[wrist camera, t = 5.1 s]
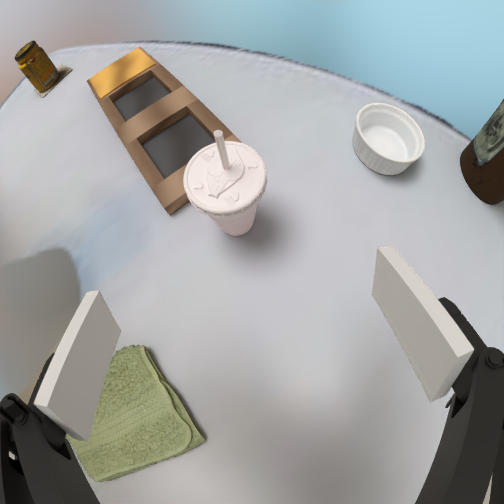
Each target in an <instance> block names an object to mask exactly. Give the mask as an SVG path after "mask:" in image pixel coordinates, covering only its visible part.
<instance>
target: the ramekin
mask: <svg viewBox="0 0 504 504" xmlns="http://www.w3.org/2000/svg"><path fill="white" fill-rule="evenodd" d="M353 147H354V150H355V152H356V154H357V156H358V157H359V159H360V160H361V161H362V162H363V163H364V164H365V165H366V166H367V167H369V168H370V169H372V170H373V171H375V172H377V173H380V174H384V175H396V174H399V173H401V172H403V171H404V170H405V169H406V168H407V167H409V166H410V165H411V164H412V163H413V162H414V161H416V160H417V159H419V158H420V157H421V156H422V154H423V152H424V149H425V139H424V136H423V133H422V131H421V129H420V127H419V126H418V124H417V123H416V122H415V121H414V120H413V119H412V118H411V117H410V116H409V115H408V114H407V113H405V112H404V111H402V110H401V109H399V108H397V107H395V106H392V105H389V104H384V103H372V104H368V105H366V106H364V107H362V108H361V109H360V110H359V112H358V114H357V117H356V127H355V131H354V135H353Z"/></svg>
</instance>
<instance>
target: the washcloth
mask: <svg viewBox="0 0 504 504" xmlns="http://www.w3.org/2000/svg"><path fill="white" fill-rule="evenodd" d="M66 437H67V438H68V439H69V441H70V443H71V444H72V446H73V447H74V448H75V450H76V452H77V454H78V459H79V460H80V462H81V464H82V465H83V466H84V468H85V470H86V471H87V473H88V474H89V476H90V477H92V479H93V480H94V481H99V482H103V481H110V480H112V479H113V478H117V477H118V478H119V477H121V476H123V475H125V474H126V473H129V472H130V473H131V472H133V471H135V470H139V469H141V468H144V467H147V466H148V465H151V464H156V463H157V462H158V461H163V460H167V459H170V458H172V457H176V456H178V455H180V454H183V453H185V452H186V451H187V450H189V449H193V448H194V447H196V446H197V445H200V444H201V443H203V442H204V441H205V438H204V437H203V436H202V435H201V434H200V433H199V432H198V430H197V429H196V427H195V426H194V424H193V422H192V421H191V419H190V417H189V415H188V414H187V412H186V410H185V408H184V407H183V405H182V403H181V401H180V400H179V398H178V396H177V395H176V394H175V392H174V391H173V390H172V389H171V387H170V386H169V385H168V384H167V382H166V381H165V379H164V377H163V376H162V374H161V373H160V371H159V370H158V368H157V366H156V365H155V363H154V362H153V360H152V358H151V356H150V354H149V351H148V349H147V347H145V346H141V347H139V345H137V346H136V347H135V346H134V345H131V346H129V347H123V349H121V350H119V351H116V354H115V355H114V356H113V357H112V359H111V362H110V365H109V369H108V372H107V375H106V378H105V382H104V385H103V388H102V392H101V395H100V399H99V402H98V406H97V410H96V413H95V417H94V421H93V425H92V429H91V433H90V438H89V442H86V441H81V440H76V439H74V438H72V437H71V436H70V435H69V434H67V433H66Z"/></svg>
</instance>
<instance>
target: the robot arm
mask: <svg viewBox="0 0 504 504" xmlns="http://www.w3.org/2000/svg"><path fill="white" fill-rule="evenodd" d="M372 296H373V297H374V299H375V301H376V302H377V304H378V306H379V307H380V309H381V311H382V312H383V314H384V316H385V318H386V319H387V321H388V323H389V325H390V326H391V328H392V330H393V332H394V333H395V335H396V337H397V339H398V341H399V342H400V344H401V346H402V348H403V350H404V352H405V353H406V355H407V357H408V359H409V361H410V363H411V365H412V367H413V369H414V370H415V372H416V374H417V376H418V378H419V380H420V382H421V384H422V386H423V388H424V390H425V392H426V394H427V397H428V399H429V401H430V402H432V401H434V400H436V399H439V398H441V397H443V396H445V395H446V394H447V393H448V391H449V390H450V388H451V387H452V388H453V390H454V392H455V393H454V394H453V396H452V397H451V399H450V400H449V401H448V403H447V405H446V407H445V408H448V407H449V405H450V404H451V405H450V409H449V413H448V417H447V421H446V424H445V428H444V431H443V434H442V437H441V441H440V444H439V447H438V450H437V452H436V455H435V458H434V461H433V463H432V466H431V469H430V471H429V474H428V476H427V478H426V481H425V483H424V485H423V488H422V490H421V492H420V494H419V496H418V499H417V501H416V503H415V504H483V501H484V498H485V495H486V492H487V489H488V486H489V482H490V479H491V476H492V485H491V494H490V501H489V504H504V354H503V353H502V352H501V351H500V350H499V349H496V348H494V347H487V346H486V345H485V344H484V342H483V341H482V339H481V338H480V337H479V335H478V334H477V332H476V331H475V330H474V328H473V327H472V326H471V324H470V323H469V322H468V321H467V319H466V318H465V317H464V315H463V314H461V311H460V310H459V309H458V308H457V306H456V305H455V304H454V303H453V302H451V301H450V300H448V299H447V298H445V297H443V298H440V299H437V298H436V297H435V295H434V294H433V293H432V292H431V290H430V289H429V288H428V287H427V285H426V284H425V283H424V282H423V281H422V279H421V278H420V277H419V276H418V275H417V273H416V272H415V271H414V270H413V269H412V268H411V266H410V265H409V264H408V263H407V262H406V261H405V259H404V258H403V257H402V256H401V255H400V254H399V253H398V252H397V250H396V249H395V248H394V247H393V246H392V245H389V246H383V247H378V248H377V257H376V266H375V275H374V283H373V290H372ZM120 333H121V330H120V328H119V326H118V325H117V323H116V321H115V319H114V318H113V316H112V314H111V312H110V310H109V308H108V306H107V304H106V303H105V301H104V299H103V297H102V295H101V293H100V291H99V290H98V291H91V292H87V293H86V295H85V297H84V298H83V300H82V302H81V304H80V306H79V307H78V309H77V311H76V313H75V315H74V317H73V318H72V320H71V322H70V324H69V326H68V328H67V330H66V332H65V334H64V336H63V338H62V340H61V342H60V344H59V346H58V348H57V350H56V352H55V353H53V354H52V355H51V356H50V357H49V359H48V360H47V361H46V363H45V365H44V367H43V370H42V371H43V372H41V374H40V376H39V379H38V381H37V383H36V386H35V388H34V390H33V393H32V395H31V398H30V400H29V403H28V405H26V404H25V403H24V402H23V401H22V400H21V399H20V398H19V397H18V396H17V395H16V394H13V393H10V394H8V395H6V396H5V397H4V398H3V399H2V401H1V402H0V504H100V502H99V501H98V499H97V497H96V495H95V494H94V492H93V490H92V488H91V487H90V485H89V483H88V481H87V479H86V477H85V475H84V473H83V471H82V469H81V467H80V465H79V463H78V461H77V459H76V457H75V454H74V452H73V450H72V448H71V445H70V443H69V441H68V440H67V439H66V438H65V437H66V433H67V434H69V435H70V436H71V437H72V438H74V439H76V440H81V441H86V442H89V438H90V433H91V429H92V425H93V421H94V417H95V413H96V410H97V406H98V402H99V399H100V395H101V392H102V388H103V385H104V382H105V378H106V375H107V372H108V369H109V365H110V362H111V359H112V356H113V353H114V350H115V347H116V344H117V341H118V338H119V336H120ZM9 451H10V452H11V453H12V454H14V455H15V460H13V459H12V458H10V457H9ZM492 472H493V474H492Z"/></svg>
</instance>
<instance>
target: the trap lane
mask: <svg viewBox="0 0 504 504" xmlns="http://www.w3.org/2000/svg"><path fill="white" fill-rule="evenodd" d="M87 82H88V84H89V86H90V88H91V89H92V91H93V93H94V95H95V97H96V98H97V100H98V102H99V104H100V105H101V107H102V109H103V111H104V112H105V114H106V116H107V117H108V119H109V121H110V122H111V124H112V126H113V128H114V129H115V131H116V133H117V134H118V136H119V138H120V139H121V141H122V143H123V144H124V146H125V147H126V149H127V151H128V152H129V154H130V156H131V157H132V159H133V160H134V162H135V164H136V165H137V167H138V168H139V170H140V172H141V173H142V175H143V176H144V178H145V179H146V181H147V183H148V184H149V186H150V187H151V189H152V190H153V192H154V193H155V195H156V197H157V198H158V200H159V201H160V203H161V204H162V206H163V207H164V209H165V210H166V211H167V212H168V213H169V215H171V214H172V213H174V212H175V211H176V210H178V209H179V208H180V207H182V206H183V205H185V204H186V203H187V202H189V201H190V200H189V199H188V197H187V194H186V191H185V189H184V183H183V177H184V172H185V169H186V166H187V164H188V162H189V161H190V159H191V158H192V157H193V156H194V155H195V154H196V153H197V152H198V151H199V150H201V149H202V148H204V147H206V146H208V145H210V144H213V143H216V141H215V137H214V132H215V131H216V130H221V131H222V133H223V137H224V141H235V142H240V143H242V142H241V141H240V140H239V139H238V138H237V137H236V136H235V135H234V134H233V133H232V132H231V131H230V130H229V129H228V128H227V127H226V126H225V125H224V124H223V123H222V122H221V121H220V120H219V119H218V118H217V117H216V116H215V115H214V114H213V113H212V112H211V111H210V110H209V109H208V108H207V107H206V106H205V105H204V104H203V103H202V102H201V101H200V100H199V99H198V98H196V97H195V96H194V95H193V94H192V93H191V92H190V91H189V90H188V89H187V88H186V87H185V86H184V85H183V84H182V83H181V82H179V81H178V80H177V79H176V78H175V77H174V76H173V75H172V74H171V73H170V72H169V71H167V70H166V69H165V68H164V67H163V66H162V65H161V64H160V63H158V62H157V61H156V60H155V59H154V58H153V57H152V56H151V55H149V54H148V53H147V52H146V51H145V50H144V49H142V48H141V47H139V48H137V49H135V50H134V51H132V52H130V53H129V54H127V55H125V56H124V57H122V58H120V59H119V60H117V61H115V62H114V63H112V64H111V65H109V66H108V67H106V68H105V69H103V70H102V71H100V72H99V73H97V74H96V75H94V76H93V77H91V78H90V79H89V80H87Z"/></svg>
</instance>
